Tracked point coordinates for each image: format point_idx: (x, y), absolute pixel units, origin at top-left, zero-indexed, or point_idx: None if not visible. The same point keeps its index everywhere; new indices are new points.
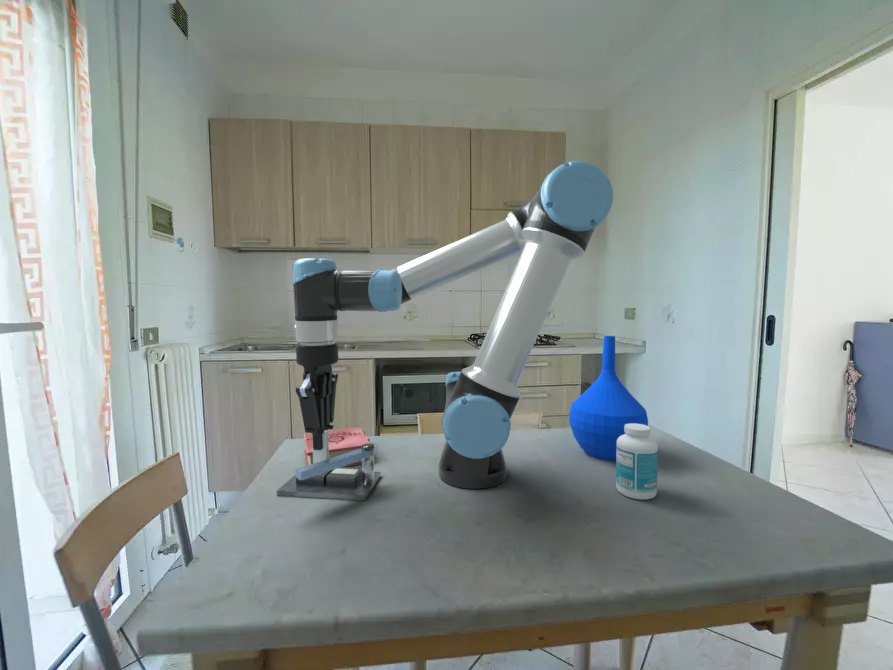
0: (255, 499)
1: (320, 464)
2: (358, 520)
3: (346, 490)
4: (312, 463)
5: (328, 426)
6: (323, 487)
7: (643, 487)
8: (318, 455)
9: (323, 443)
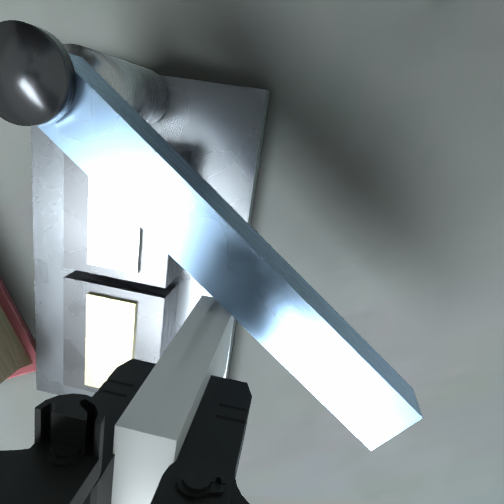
0: (246, 474)
1: (310, 336)
2: (437, 83)
3: (217, 183)
4: (10, 367)
5: (80, 451)
6: (192, 282)
7: None
8: (218, 373)
9: (202, 391)
